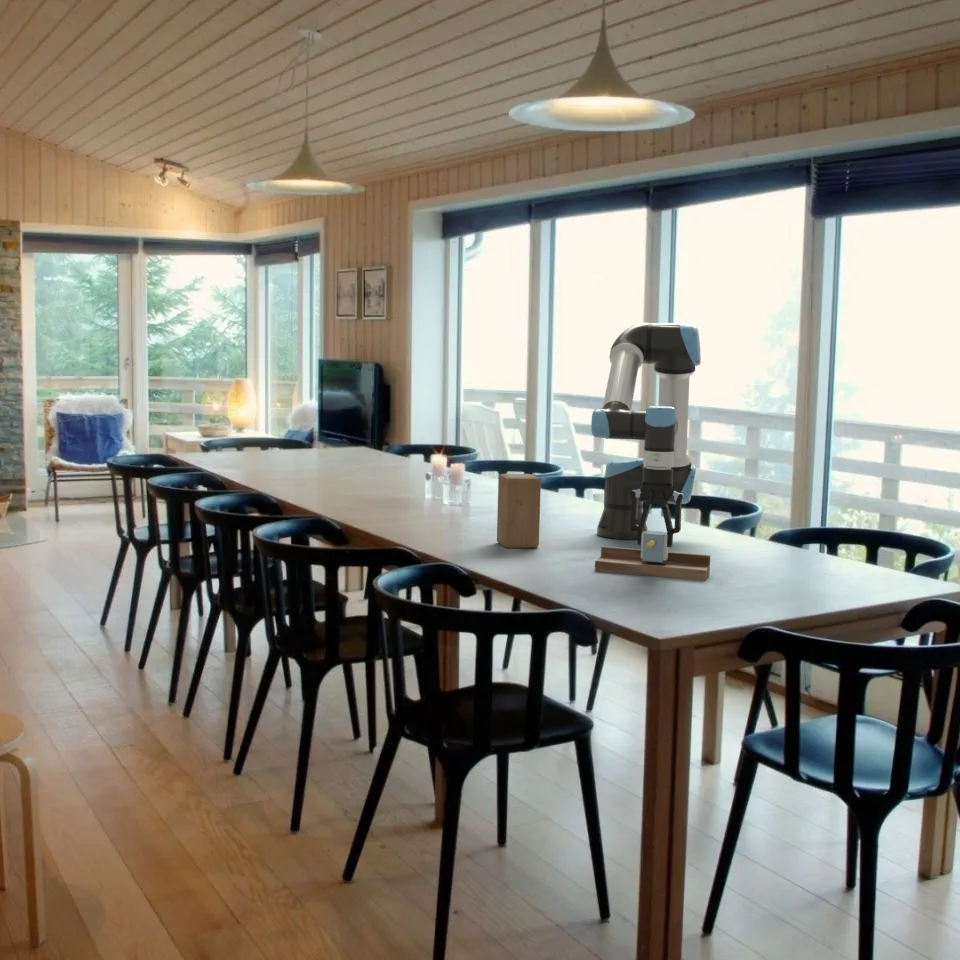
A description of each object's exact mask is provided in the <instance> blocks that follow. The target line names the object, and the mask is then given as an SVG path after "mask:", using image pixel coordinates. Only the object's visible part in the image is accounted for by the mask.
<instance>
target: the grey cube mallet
mask: <svg viewBox="0 0 960 960" xmlns="http://www.w3.org/2000/svg"><path fill="white" fill-rule="evenodd" d="M666 533H667V531H656V530H648V531H646V532H645V533H644V536H643V557H642V561H651V562H663V561H664V560H663V550H664V535H665V534H666Z"/></svg>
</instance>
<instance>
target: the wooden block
mask: <svg viewBox="0 0 960 960" xmlns="http://www.w3.org/2000/svg"><path fill="white" fill-rule="evenodd" d="M498 475H499V476H498V481H497V482H498V483H497V488H498V489H497V517H496V518H497V520H496V521H497V523H496V542H497V543H498V544H500V545H501V546H502V547H504V548H505V549H534V548H538V547H539V545H540V517H541V516H540V514H541V512H540V511H541V487H542V482H541V481H542V480H541V478H540V477H538V476H535V475H533V474H530V473H501V474H498Z"/></svg>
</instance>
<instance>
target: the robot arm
mask: <svg viewBox="0 0 960 960" xmlns="http://www.w3.org/2000/svg"><path fill="white" fill-rule="evenodd" d="M612 343H613V344H612V345H611V348H610V351H609V356H608V357H609V362H610V369H609V373H608V379H607V383H606V389H605V394H604V399H603V402H602V408H600V409H597V408H596V409H594V410H593V411H592V413H591V422H590V423H591V426H590V427H591V429H590V430H591V434H592V436H593V437H595V438H602V439H606V440H607V439H608V440H609V439H611V440H612V439H614V440H615V439H616V440H617V439H618V440H640V441H644V446H643V447H644V448H643V457H629V458H619V459H614V460H610V461H608V462H607V463H606V465H605V473H604V474H605V475H604V496H603V510H602V512H601V517H600V519H599V522H598V524H597V527H596V534H597V536H599V537H603V538H608V539H615V540H636V543H637V545H640V549H641V558H642V557H643V536H644V533H645V532H646V531H649V530H648V525H647V521H648V517H649V514H650V511H651V508H652V505H658V506H660V507H661V510H662V515H663V518H664V523H665V528H666V532H667V533H666V534H665V535H664V550H663V560H667V559H668V552H669V548H672V547H673V541H674V534H678V533H680V531H681V530H682V529H681V528H682V527H681V526H682V525H681V524H682V507H683V506H682V505H685V504H688V503H689V502H690V501H691V499H692V494H693V489H694V488H693V487H694V483H695V477H696V471H697V466H696V465H694V464H692V458H691V457H690V456H689V455H688V454H687V452H688V450H687V449H688V429H689V428H688V425H689V424H688V422H689V402H690V401H689V397H690V377H691V376H692V375H693V374H694V373H695V372H696V367H698V366H700V365H701V343H700V335H699V330H698V328H697V326H696V325H695V324H692V323H682V322H673V323H672V322H641V323H640V322H639V323H637V324H634V325H632V326H630V327H629V328H626V329H625V330H624V331H623V332H622V333H621V334H619V335H618V337H617V338H616V339H615V340H614V342H612ZM643 364H647V365H649V364H650V365H654V367H653V369H654V372H655V373H656V374H657V375H658V379H659V380H658V405H648V407H646V410H632V407H633V402H634V401H633V400H634V395H635V388H636V383H637V378H638V373H639V372H638V371H639V369H640V368H641V366H642V365H643ZM644 503H645V504H644ZM669 504H671V505H672V504H673V505H674V527H673V523H672V517H671V512H670V508H669ZM643 507H644V508H643Z"/></svg>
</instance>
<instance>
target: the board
mask: <svg viewBox="0 0 960 960" xmlns="http://www.w3.org/2000/svg"><path fill="white" fill-rule="evenodd" d="M594 571H595V572H604V573H617V574H628V575H637V576H651V577H661V578H671V579H672V578H673V579H683V580H694V581H703V582H704V581H706V580H707V579H708V578H709V576H710V571H711V554H698V553H689V552H676V551H668V559H667V560H664V561H663V562H651V561H642V558H641V548H628V547H617V546H606V545H605V546H604V545H602V546H600V557H598V558H597V559H596V560H595V561H594Z"/></svg>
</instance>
